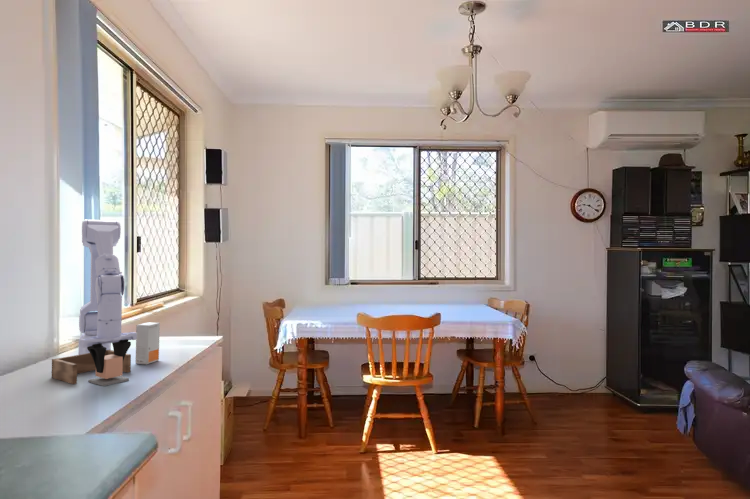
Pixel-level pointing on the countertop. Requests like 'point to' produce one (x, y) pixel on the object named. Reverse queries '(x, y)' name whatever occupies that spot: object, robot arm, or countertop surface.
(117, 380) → the mat
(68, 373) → the open box
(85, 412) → the countertop surface
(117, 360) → the block
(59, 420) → the countertop surface
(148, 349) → the skincare box
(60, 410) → the countertop surface
